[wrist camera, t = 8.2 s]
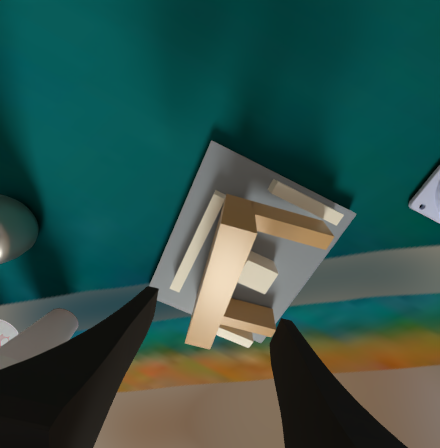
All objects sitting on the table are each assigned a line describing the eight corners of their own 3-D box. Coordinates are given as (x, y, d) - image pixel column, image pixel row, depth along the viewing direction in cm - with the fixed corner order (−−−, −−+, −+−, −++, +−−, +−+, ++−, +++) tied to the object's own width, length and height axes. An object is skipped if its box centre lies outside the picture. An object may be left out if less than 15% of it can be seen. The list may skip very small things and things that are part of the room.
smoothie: (26, 312, 26) (-189, 482, 13) (63, 290, 24) (-136, 456, 11) (63, 347, 27) (-93, 530, 14) (100, 328, 26) (-36, 512, 13)
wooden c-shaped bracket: (323, 220, 17) (351, 259, 12) (268, 316, 23) (274, 365, 18) (226, 193, 17) (220, 223, 12) (196, 297, 22) (184, 343, 18)
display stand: (349, 210, 20) (372, 222, 16) (259, 334, 25) (263, 361, 22) (212, 140, 18) (208, 138, 15) (149, 288, 24) (136, 309, 20)
